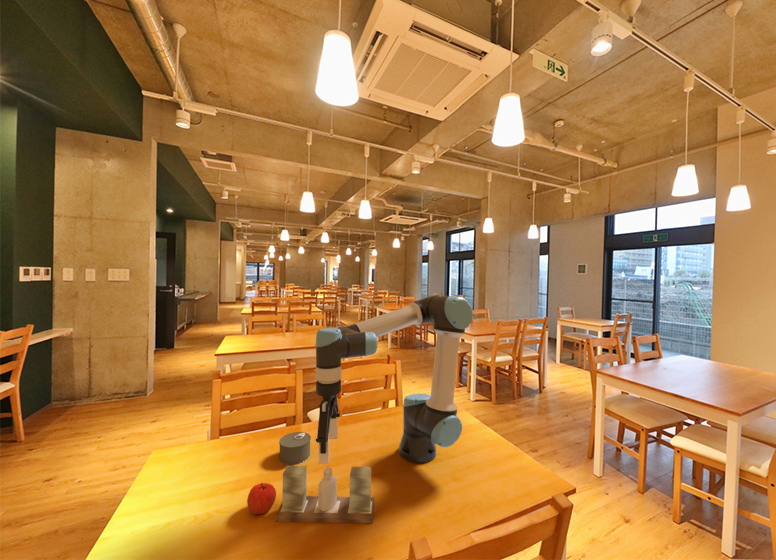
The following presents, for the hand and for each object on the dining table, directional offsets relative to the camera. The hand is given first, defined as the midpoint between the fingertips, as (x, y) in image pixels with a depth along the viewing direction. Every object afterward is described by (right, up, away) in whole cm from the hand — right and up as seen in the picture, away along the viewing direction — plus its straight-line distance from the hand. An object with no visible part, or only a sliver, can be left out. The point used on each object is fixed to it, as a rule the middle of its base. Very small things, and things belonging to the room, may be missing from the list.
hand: (328, 450), depth 93 cm
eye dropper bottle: (0, -17, 0) cm, 17 cm away
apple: (-20, -18, 0) cm, 27 cm away
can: (-19, -19, +29) cm, 39 cm away
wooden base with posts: (0, -18, 0) cm, 18 cm away
